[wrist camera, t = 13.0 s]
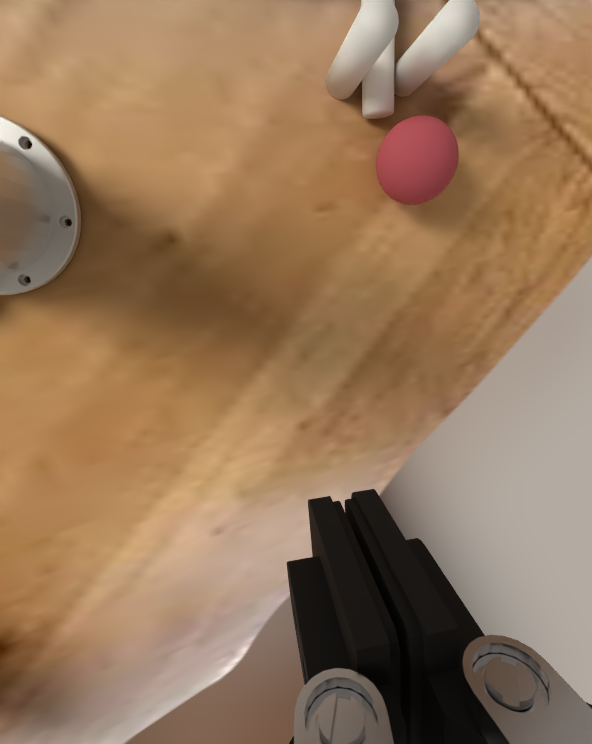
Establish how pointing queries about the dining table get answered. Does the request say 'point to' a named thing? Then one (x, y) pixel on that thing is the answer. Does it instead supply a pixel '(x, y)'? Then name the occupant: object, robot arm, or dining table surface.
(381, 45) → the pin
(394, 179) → the ball
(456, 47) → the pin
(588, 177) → the dining table surface
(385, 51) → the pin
